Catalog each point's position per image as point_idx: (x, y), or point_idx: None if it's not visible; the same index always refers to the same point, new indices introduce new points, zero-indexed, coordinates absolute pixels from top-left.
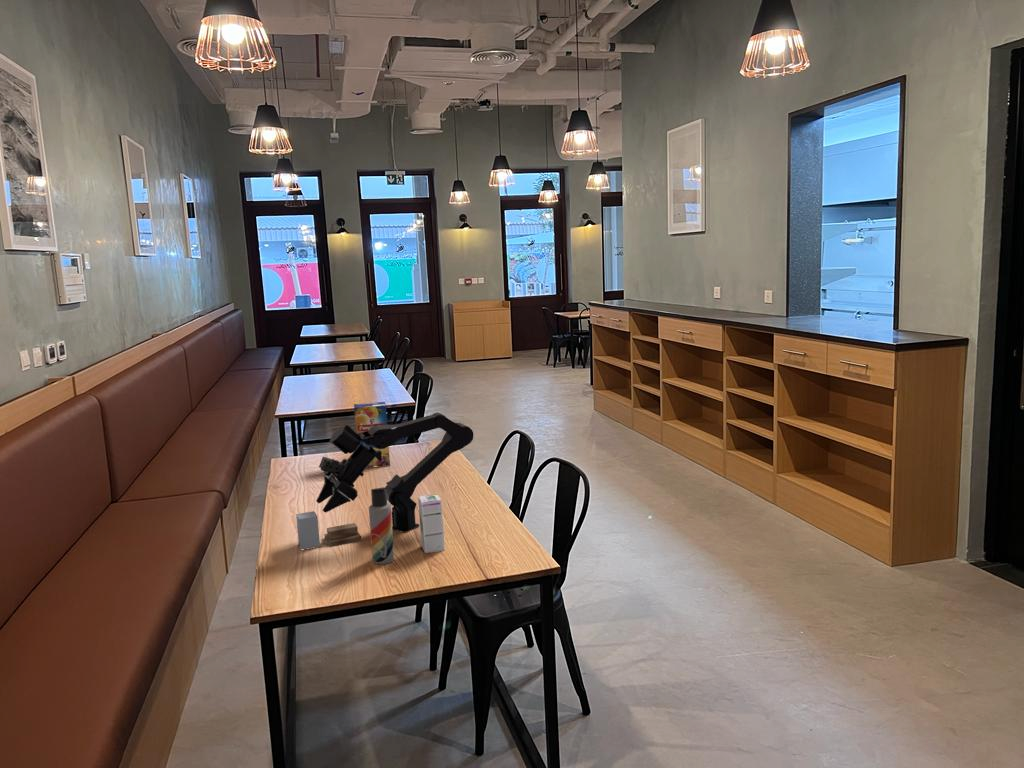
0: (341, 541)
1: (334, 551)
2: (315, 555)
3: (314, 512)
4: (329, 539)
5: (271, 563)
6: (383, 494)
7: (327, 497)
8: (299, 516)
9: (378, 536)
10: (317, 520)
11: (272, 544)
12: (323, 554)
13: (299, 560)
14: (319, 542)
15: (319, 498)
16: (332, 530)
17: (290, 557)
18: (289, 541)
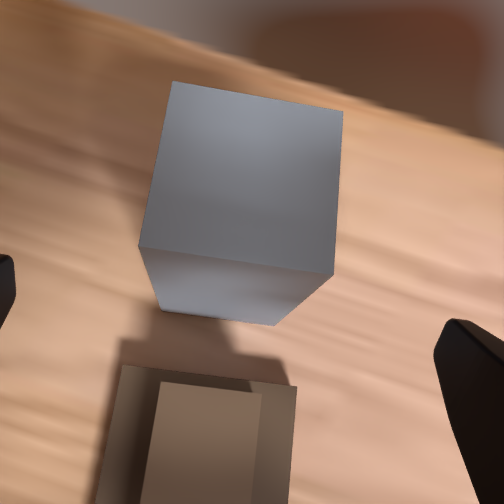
0: (105, 455)
1: (15, 362)
2: (43, 241)
3: (284, 262)
4: (173, 382)
5: (108, 38)
6: None
7: (482, 496)
8: (259, 112)
9: None
10: (143, 256)
11: (367, 119)
12: (20, 285)
13: (39, 149)
14: (159, 303)
15: (470, 358)
16: (172, 414)
17: (119, 128)
18: (362, 198)
